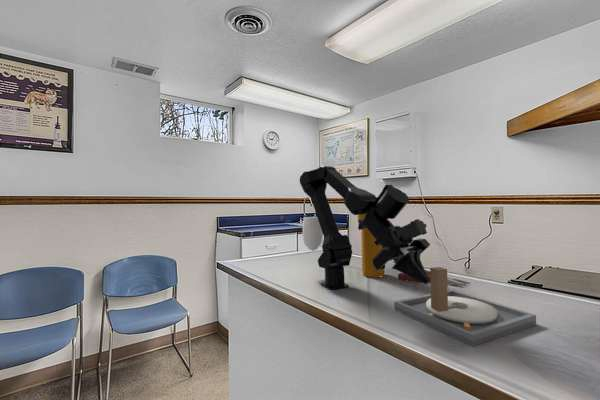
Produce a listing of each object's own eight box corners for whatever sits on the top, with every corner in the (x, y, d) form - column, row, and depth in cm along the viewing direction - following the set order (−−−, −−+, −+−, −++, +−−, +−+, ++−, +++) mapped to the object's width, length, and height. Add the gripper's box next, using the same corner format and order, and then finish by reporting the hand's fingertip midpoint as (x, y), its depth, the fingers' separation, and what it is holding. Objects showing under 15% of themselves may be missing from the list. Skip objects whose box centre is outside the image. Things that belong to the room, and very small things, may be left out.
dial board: (394, 309, 72) (394, 301, 72) (451, 296, 80) (451, 289, 80) (473, 346, 53) (472, 335, 53) (536, 324, 62) (536, 315, 62)
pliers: (462, 293, 84) (462, 284, 84) (396, 280, 98) (396, 272, 98) (474, 284, 92) (474, 276, 92) (411, 274, 107) (411, 266, 107)
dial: (461, 297, 75) (460, 258, 75) (513, 318, 62) (513, 271, 62) (413, 303, 72) (412, 262, 72) (458, 327, 58) (457, 277, 58)
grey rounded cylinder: (300, 274, 106) (298, 217, 106) (317, 272, 109) (316, 216, 109) (309, 279, 100) (307, 218, 100) (327, 276, 103) (326, 217, 103)
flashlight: (355, 201, 109) (382, 201, 109) (356, 271, 109) (383, 271, 109) (360, 201, 99) (390, 201, 99) (361, 278, 99) (391, 278, 99)
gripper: (383, 210, 65) (435, 268, 57) (421, 207, 77) (468, 254, 69) (354, 243, 70) (398, 300, 62) (394, 235, 83) (435, 282, 75)
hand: (427, 282), depth 67 cm, fingers closed
